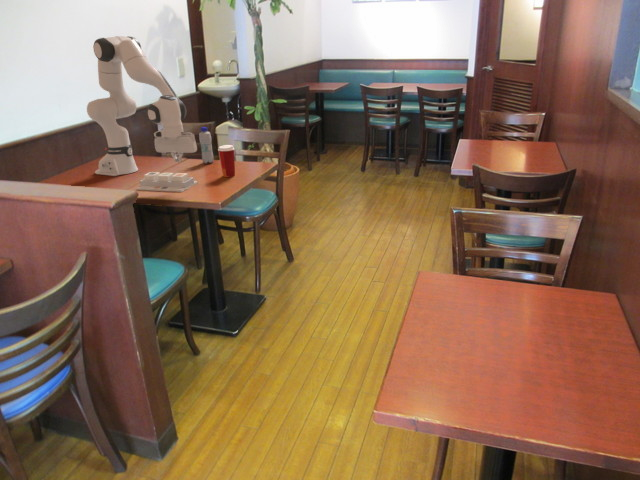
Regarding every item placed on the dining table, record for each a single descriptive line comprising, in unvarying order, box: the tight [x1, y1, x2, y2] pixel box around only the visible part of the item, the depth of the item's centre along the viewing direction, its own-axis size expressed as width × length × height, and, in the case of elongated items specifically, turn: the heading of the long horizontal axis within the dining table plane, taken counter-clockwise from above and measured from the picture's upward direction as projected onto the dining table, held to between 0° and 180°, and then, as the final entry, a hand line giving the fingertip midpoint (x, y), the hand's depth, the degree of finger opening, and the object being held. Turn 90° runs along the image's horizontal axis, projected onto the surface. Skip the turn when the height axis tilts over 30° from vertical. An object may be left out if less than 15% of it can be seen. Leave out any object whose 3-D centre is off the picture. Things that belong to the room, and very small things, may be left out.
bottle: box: [198, 126, 214, 164], centre depth 283 cm, size 7×7×20 cm
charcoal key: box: [143, 171, 162, 181], centre depth 246 cm, size 6×6×3 cm
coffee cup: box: [217, 144, 236, 178], centre depth 256 cm, size 8×8×15 cm
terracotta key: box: [172, 172, 190, 182], centre depth 242 cm, size 6×6×3 cm
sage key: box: [158, 172, 175, 182], centre depth 244 cm, size 6×6×3 cm
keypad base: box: [136, 177, 198, 193], centre depth 245 cm, size 24×15×4 cm, turn 74°
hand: (178, 161), depth 238 cm, fingers closed
